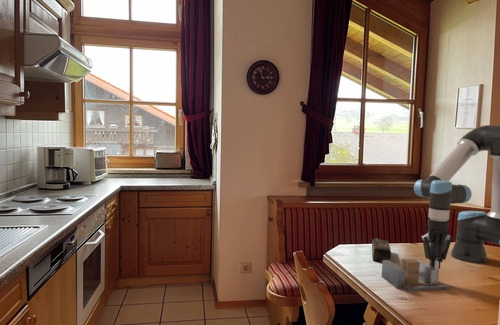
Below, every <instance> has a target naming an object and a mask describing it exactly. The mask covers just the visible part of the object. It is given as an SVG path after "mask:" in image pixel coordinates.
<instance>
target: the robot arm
mask: <svg viewBox="0 0 500 325" xmlns="http://www.w3.org/2000/svg"><path fill="white" fill-rule="evenodd" d="M456 144H457V145H456V147H455V148H453V150H452V151H451V152H449V155H447V156H446V157H445V158H444V160H443V161H442V162H440V164H439V165H438V166H437V167H436V168H435V169H434V170H433V172H431V173H430V174H429V176H428V177H427V178H426V179H418V180H417V181H415V183H414V185H413V191H414V193H415V194H416V196H417V197H418V196H419V197H422V198H424V199H425V198H426V199H429V206H428V216H427V217H428V219H427V231H426V234H424V235H421V236H420V239H421V240H422V244H423V251H424V258H425V259H427V260H428V261H429V265H431V266H433V267H434V268H436V269H438V270H439V269H441V263H443V260H444V261H445V260H446V258H447V256H448V253H449V249H450V246H451V244H452V241H453V240H454V237H453V236H451V235H449V232H448V230H449V226H450V222H449V220H450V213H451V204H455V205H456V204H463V203H467V202H469V201H470V200H471V198H472V190H471V188H470V187H469V186H467V185H465V184H459V183H458V184H453V183H452V181H450V180H451V179H452V178H453V177H454V176H455V175H456V174H457V173H458V172H459V170H460V169H461V168H463V166H465V164H466V163H467V162H468V161H469V160H470V159H471V158H472V157H473V156H476V155H477V154H478V153H479V152H482V151H486V152H487V151H488V152H489V156H490V157H491V158H492V159H493V160H492V178H491V179H492V180H491V181H492V182H491V203H490V211H489V212H488V213H487V212H485V211H482V210H481V211H480V210H465V211H464V210H463V211H460V212H459V213H458V217H457V219H456V220H457V226H456V238H455V242H454V245H453V247H452V249H451V250H450V251H451V252H450V255H451V257H453V258H454V259H457V260H460V261H464V262H467V263H477V264H479V263H481V264H482V263H486V262H487V261H488V256H487V252H486V248H485V242H486V243H487V242H488V243H491V244H494V245H499V246H500V124H498V125H496V124H495V125H494V124H493V125H492V124H491V125H482V126H478V127H476V128H474V129H471V130H470V131H468V132H467V133H466V134H465V135H463V136H462V137H461V138H460V139H459V140H458V141H457V143H456Z"/></svg>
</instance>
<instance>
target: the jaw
mask: <svg viewBox="0 0 500 325" xmlns="http://www.w3.org/2000/svg"><path fill="white" fill-rule="evenodd" d="M416 260H417V261H418V262H420V266H419V279H418V281H420V282H421V283H422V284H424V285H425V286H439V285H438V284H439V274H440V270H439V269H436V268H434V267H433V266H431V265H430V263H427V261H424V260H422V259H416Z"/></svg>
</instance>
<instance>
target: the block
mask: <svg viewBox="0 0 500 325" xmlns="http://www.w3.org/2000/svg"><path fill="white" fill-rule="evenodd" d="M417 260H418V259H415V258H413V257H407V258H406V257H405V258H404V257H401V258H400V267H401V268H402V269H404V270H405V284H404V285H406V286H419V280H418V279H419V266H420V262H418V261H417Z"/></svg>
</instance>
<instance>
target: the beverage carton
mask: <svg viewBox="0 0 500 325" xmlns="http://www.w3.org/2000/svg"><path fill="white" fill-rule="evenodd" d="M371 244H372V245H371V253H372V254H371V255H372V256H371V258H372V261H373V262H377V263H378V262H379V263H382V262H383V260H390V261H391V256H392V250H391V247H390V243H389V240H387V239H386V240H385V239H379V238H373V239H372V242H371Z"/></svg>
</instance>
